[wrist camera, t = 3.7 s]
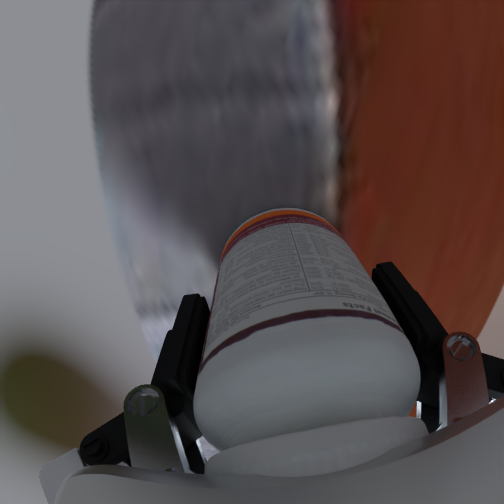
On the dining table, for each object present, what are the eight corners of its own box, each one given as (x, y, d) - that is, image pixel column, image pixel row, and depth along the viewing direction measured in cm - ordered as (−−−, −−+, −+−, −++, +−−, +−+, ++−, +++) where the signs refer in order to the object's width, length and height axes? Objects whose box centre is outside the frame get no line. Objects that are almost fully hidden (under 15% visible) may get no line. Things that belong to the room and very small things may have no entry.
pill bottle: (312, 323, 15) (354, 522, 5) (207, 296, 14) (166, 526, 4) (365, 228, 12) (511, 443, 2) (242, 184, 11) (208, 528, 1)
